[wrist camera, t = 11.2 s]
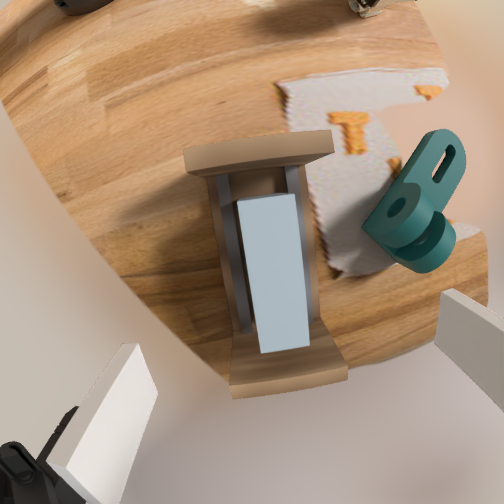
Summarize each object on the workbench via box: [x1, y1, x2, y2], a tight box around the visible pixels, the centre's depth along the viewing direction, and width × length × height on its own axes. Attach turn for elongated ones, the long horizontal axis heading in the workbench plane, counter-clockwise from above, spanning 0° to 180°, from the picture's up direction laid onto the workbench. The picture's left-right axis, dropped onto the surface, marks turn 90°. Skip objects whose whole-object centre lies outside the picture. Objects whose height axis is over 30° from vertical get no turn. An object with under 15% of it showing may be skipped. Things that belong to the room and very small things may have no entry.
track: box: [183, 130, 348, 399], centre depth 25 cm, size 20×10×11 cm, turn 8°
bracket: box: [361, 129, 466, 273], centre depth 25 cm, size 18×7×8 cm, turn 142°
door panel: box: [237, 193, 310, 353], centre depth 25 cm, size 12×4×9 cm, turn 8°
